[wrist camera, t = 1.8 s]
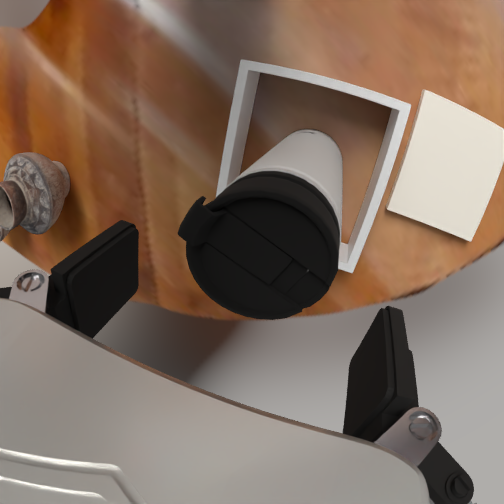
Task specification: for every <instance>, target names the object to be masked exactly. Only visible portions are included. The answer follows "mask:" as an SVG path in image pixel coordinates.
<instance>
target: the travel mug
mask: <svg viewBox="0 0 504 504" xmlns="http://www.w3.org/2000/svg"><path fill="white" fill-rule="evenodd" d="M205 199H206V198H205V197H204V196H202V197H201V198H199V199H198V200H196V202H195V203H194V204H193V206H192V207H191V208H190V210H189V211H188V213H187V215H186V216H185V218H184V220H183V221H182V223H181V225H180V228H179V231H178V235H179V236H180V237H181V238H183V239H184V240H185V241H186V257H187V261H188V265H189V269H190V271H191V273H192V275H193V277H194V279H195V281H196V282H197V283H198V285H199V286H200V288H201V289H202V290H203V291H204V292H205V293H206V294H207V295H208V296H209V297H210V298H211V299H212V300H214V301H215V302H216V303H218V304H219V305H221V306H222V307H224V308H226V309H228V310H230V311H232V312H234V313H237V314H240V315H243V316H246V317H251V318H256V319H270V320H274V319H283V318H287V317H290V316H292V315H295V314H297V313H300V312H302V309H303V308H307V307H310V306H312V305H313V304H314V303H316V302H317V301H319V300H320V299H321V298H322V297H323V296H324V295H325V294H326V292H327V291H328V290H329V287H330V286H331V284H332V282H333V280H334V278H335V275H336V273H337V271H338V262H339V249H340V245H341V227H342V155H341V151H340V149H339V147H338V145H337V144H336V142H335V141H334V140H333V139H332V138H331V137H330V136H328V135H327V134H325V133H323V132H321V131H318V130H314V129H303V130H298V131H296V132H293V133H291V134H290V135H289V136H287V137H286V138H285V139H283V140H282V141H281V142H280V143H278V144H277V145H276V146H275V147H273V148H272V149H271V150H270V151H268V152H267V153H266V154H265V155H263V156H262V157H261V158H260V159H259V160H257V161H256V162H255V163H254V164H252V165H251V166H250V167H249V168H248V169H246V170H245V171H244V172H243V173H242V174H241V175H239V176H238V177H237V178H236V179H235V180H234V181H232V182H231V183H230V184H229V185H228V186H227V187H226V188H225V189H224V190H223V192H221V193H220V194H219V195H218V196H217V197H216V198H215V200H214V201H212V202H210V203H208V204H206V205H205V206H204V205H203V202H204V201H205Z"/></svg>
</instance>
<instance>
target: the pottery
mask: <svg viewBox="0 0 504 504" xmlns="http://www.w3.org/2000/svg"><path fill="white" fill-rule="evenodd" d="M69 190H70V178H69V174H68V172H67V170H66V168H65V167H64V165H63V164H62V163H60V162H58V161H51V160H50V159H49V158H47V157H45V156H43V155H41V154H38V153H31V152H28V153H20V154H16V155H14V156H13V157H12V158H11V159H10V160H9V162H8V164H7V166H6V170H5V174H4V181H3V182H0V241H2V240H3V239H4V238H5V237H6V236H7V234H8V233H9V232H10V230H11V229H13V228H15V227H16V226H18V225H21V226H22V227H23V228H24V229H26V230H27V231H29V232H31V233H33V234H43V233H44V232H46V231H47V230H48V229H49V228H50V227H51V226H52V225H53V224H54V223H55V222H56V220H57V219H58V217H59V215H60V213H61V210H62V208H63V204H64V200H65V197H66V196H67V195H68V193H69Z"/></svg>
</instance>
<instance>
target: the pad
mask: <svg viewBox="0 0 504 504" xmlns="http://www.w3.org/2000/svg"><path fill="white" fill-rule="evenodd" d="M503 162H504V129H503V128H501V127H500V126H498V125H496V124H494V123H493V122H491V121H489V120H487V119H485V118H484V117H482V116H480V115H478V114H476V113H474V112H472V111H470V110H468V109H466V108H464V107H462V106H460V105H458V104H456V103H454V102H452V101H450V100H448V99H445V98H443V97H441V96H439V95H436V94H434V93H432V92H430V91H427V90H422V93H421V97H420V101H419V105H418V108H417V112H416V115H415V119H414V122H413V126H412V129H411V132H410V136H409V139H408V142H407V146H406V149H405V152H404V155H403V158H402V161H401V164H400V167H399V170H398V173H397V176H396V179H395V182H394V185H393V187H392V190H391V193H390V196H389V199H388V201H387V204H386V208H387V210H390V211H393V212H395V213H398V214H401V215H404V216H406V217H409V218H412V219H415V220H417V221H420V222H422V223H425V224H428V225H430V226H433V227H435V228H438V229H441V230H443V231H446V232H448V233H451V234H453V235H456V236H458V237H460V238H463V239H465V240H468V241H470V242H471V240H472V238H473V236H474V234H475V232H476V230H477V227H478V225H479V223H480V221H481V219H482V216H483V214H484V212H485V209H486V207H487V205H488V202H489V200H490V197H491V195H492V192H493V190H494V187H495V184H496V182H497V179H498V176H499V174H500V171H501V168H502V165H503Z"/></svg>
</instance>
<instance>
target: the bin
mask: <svg viewBox="0 0 504 504" xmlns="http://www.w3.org/2000/svg"><path fill="white" fill-rule="evenodd" d="M260 73H265V74H271V75H276V76H280V77H285V78H290V79H294V80H298V81H303V82H307V83H311V84H315V85H319V86H322V87H326V88H330V89H333V90H337V91H340V92H344V93H347V94H350V95H354V96H357V97H360V98H363V99H366V100H369V101H372V102H375V103H378V104H381V105H384V106H387V107H390V108H392V110H391V114H390V117H389V121H388V124H387V128H386V131H385V135H384V138H383V141H382V145H381V148H380V151H379V155H378V158H377V161H376V164H375V167H374V170H373V173H372V177H371V180H370V183H369V186H368V189H367V192H366V194H365V197H364V200H363V203H362V206H361V209H360V212H359V215H358V217H357V220H356V223H355V226H354V228H353V231H352V234H351V237H350V239H349V242H348V244H345V243H342V242H341V245H340V249H339V262H338V269H341V270H344V271H347V272H350V273H353V271H354V268H355V266H356V264H357V261H358V259H359V256H360V254H361V251H362V249H363V247H364V244H365V242H366V239H367V236H368V234H369V231H370V229H371V226H372V224H373V221H374V218H375V216H376V213H377V210H378V208H379V205H380V202H381V199H382V197H383V194H384V191H385V188H386V185H387V182H388V179H389V176H390V173H391V171H392V167H393V164H394V161H395V158H396V155H397V152H398V149H399V146H400V142H401V139H402V136H403V133H404V129H405V126H406V122H407V119H408V115H409V112H410V108H411V105H410V104H408V103H405V102H402V101H400V100H397V99H394V98H392V97H389V96H386V95H383V94H380V93H377V92H375V91H372V90H368V89H365V88H362V87H359V86H356V85H353V84H349V83H346V82H342V81H339V80H335V79H332V78H328V77H324V76H320V75H316V74H312V73H308V72H304V71H300V70H295V69H291V68H286V67H281V66H276V65H271V64H266V63H260V62H254V61H248V60H242V59H241V61H240V66H239V71H238V76H237V81H236V86H235V91H234V96H233V101H232V107H231V112H230V117H229V123H228V128H227V134H226V140H225V145H224V151H223V157H222V163H221V169H220V175H219V181H218V187H217V193H216V197H217V196H218V195H219V194H220V193H221V192H223V190H224V189H225V188H226V187H227V186H228V185H229V184H230V183H231V182H232V181H234V180H235V179H236V178H237V177H238V176H239V175H240V170H241V165H242V160H243V155H244V150H245V145H246V140H247V135H248V130H249V125H250V120H251V115H252V110H253V105H254V100H255V95H256V90H257V86H258V81H259V76H260Z"/></svg>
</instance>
